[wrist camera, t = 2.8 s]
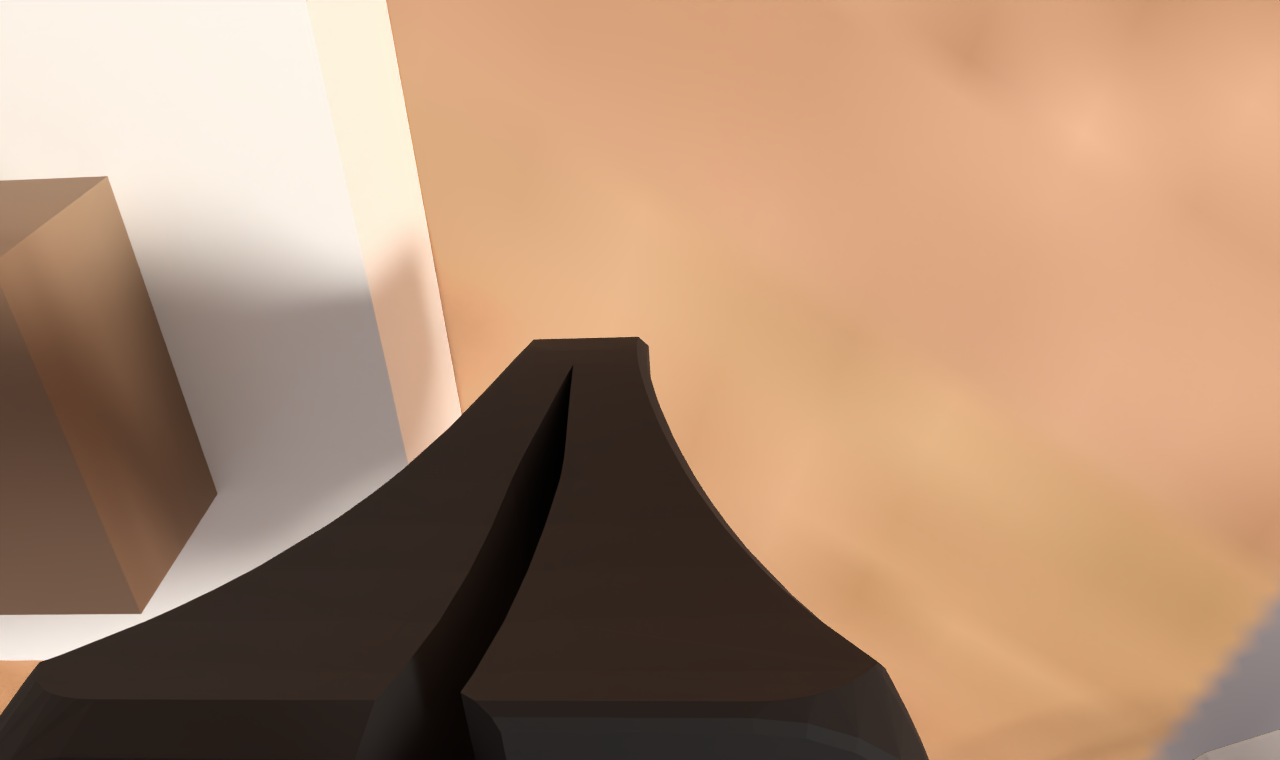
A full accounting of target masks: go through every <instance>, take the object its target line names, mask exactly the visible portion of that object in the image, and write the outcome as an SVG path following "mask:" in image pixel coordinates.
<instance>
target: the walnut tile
mask: <svg viewBox="0 0 1280 760" xmlns="http://www.w3.org/2000/svg"><path fill="white" fill-rule="evenodd" d="M216 496H217V491H216V488H215V485H214V482H213V479H212V476H211V473H210V470H209V468H208V465H207V462H206V459H205V456H204V453H203V450H202V447H201V444H200V442H199V439H198V436H197V433H196V430H195V427H194V424H193V421H192V418H191V416H190V413H189V410H188V407H187V404H186V401H185V398H184V395H183V393H182V390H181V387H180V384H179V381H178V378H177V375H176V372H175V369H174V367H173V364H172V361H171V358H170V355H169V352H168V349H167V346H166V343H165V341H164V338H163V335H162V332H161V329H160V326H159V323H158V320H157V317H156V315H155V312H154V309H153V306H152V303H151V300H150V297H149V294H148V291H147V289H146V286H145V283H144V280H143V277H142V274H141V271H140V268H139V265H138V263H137V260H136V257H135V254H134V251H133V248H132V245H131V242H130V240H129V237H128V234H127V231H126V228H125V225H124V222H123V219H122V216H121V214H120V211H119V208H118V205H117V202H116V199H115V196H114V193H113V190H112V188H111V185H110V182H109V179H108V176H100V177H75V178H51V179H26V180H2V181H0V615H73V614H142V612H143V610H144V609H145V607H146V606H147V604H148V603H149V601H150V599H151V598H152V596H153V595H154V593H155V592H156V590H157V588H158V587H159V585H160V584H161V582H162V581H163V579H164V577H165V576H166V574H167V573H168V571H169V570H170V568H171V566H172V565H173V563H174V562H175V560H176V559H177V557H178V555H179V554H180V552H181V551H182V549H183V548H184V546H185V544H186V543H187V541H188V540H189V538H190V537H191V535H192V533H193V532H194V530H195V529H196V527H197V526H198V524H199V522H200V521H201V519H202V518H203V516H204V515H205V513H206V511H207V510H208V508H209V507H210V505H211V504H212V502H213V500H214V499H215V497H216Z"/></svg>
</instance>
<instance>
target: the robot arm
mask: <svg viewBox="0 0 1280 760" xmlns="http://www.w3.org/2000/svg"><path fill="white" fill-rule="evenodd" d="M0 760H929V759H928V756H927V754H926V751H925V749H924V746H923V744H922V741H921V739H920V737H919V735H918V733H917V730H916V728H915V726H914V724H913V722H912V720H911V718H910V715H909V713H908V711H907V709H906V707H905V705H904V703H903V701H902V699H901V697H900V696H899V694H898V692H897V690H896V688H895V686H894V684H893V682H892V680H891V678H890V676H889V675H888V673H887V671H886V669H885V668H884V667H883V666H882V665H881V664H880V663H878V662H877V661H876V660H874V659H873V658H872V657H870V656H869V655H867V654H866V653H865V652H863V651H862V650H860V649H859V648H858V647H856V646H855V645H853V644H852V643H851V642H849V641H848V640H846V639H845V638H844V637H842V636H841V635H840V634H838V633H837V632H835V631H834V630H833V629H831V628H830V627H828V626H827V625H826V624H824V623H823V622H822V621H821V620H820V619H818V618H817V617H816V616H815V615H814V614H813V613H812V612H810V611H809V610H808V609H807V608H806V607H805V606H804V605H803V604H801V603H800V602H799V601H798V600H797V599H796V598H795V597H793V596H792V595H791V594H790V593H789V592H788V590H787V589H786V588H785V587H784V586H783V585H782V584H781V583H780V582H779V581H778V580H777V579H776V578H775V577H774V576H773V575H772V574H771V573H770V572H769V571H768V570H767V569H766V568H765V567H764V566H763V565H762V564H761V562H760V561H759V560H758V559H757V558H756V557H755V556H754V555H753V554H752V553H751V552H750V551H749V550H748V549H747V548H746V546H745V545H744V544H743V543H742V541H741V540H740V539H739V538H738V536H737V535H736V534H735V533H734V532H733V530H732V529H731V528H730V527H729V525H728V524H727V523H726V522H725V520H724V519H723V517H722V516H721V515H720V513H719V512H718V510H717V509H716V508H715V506H714V505H713V504H712V502H711V501H710V499H709V498H708V496H707V495H706V493H705V492H704V490H703V489H702V487H701V486H700V484H699V482H698V481H697V479H696V477H695V476H694V474H693V472H692V471H691V469H690V467H689V465H688V464H687V462H686V460H685V458H684V456H683V455H682V453H681V451H680V449H679V447H678V445H677V443H676V441H675V439H674V437H673V435H672V433H671V431H670V428H669V426H668V424H667V422H666V419H665V417H664V415H663V412H662V410H661V408H660V405H659V403H658V400H657V397H656V394H655V391H654V388H653V384H652V381H651V377H650V362H649V347H648V345H647V344H646V343H645V342H643V341H642V340H641V339H640V338H639V337H618V338H578V339H539V340H533V341H532V342H531V343H530V344H529V345H528V346H527V347H526V348H525V349H524V350H523V351H522V352H521V353H520V354H519V355H518V356H517V357H516V358H515V359H514V360H513V362H512V363H511V364H510V365H509V366H508V367H507V368H506V369H505V370H504V371H503V372H502V373H501V374H500V376H499V377H498V378H497V379H496V380H495V381H494V382H493V383H492V384H491V385H490V386H489V387H488V388H487V389H486V390H485V392H484V393H483V394H482V395H481V396H480V397H479V398H478V399H477V400H476V401H475V402H474V403H473V404H472V405H471V406H470V407H469V408H468V409H467V410H466V411H465V412H464V413H463V414H462V415H461V416H460V417H459V418H458V419H457V420H456V421H455V422H454V423H453V424H452V425H451V426H450V427H449V428H448V429H447V430H446V431H445V432H444V433H443V434H442V435H440V436H439V437H438V438H437V439H436V440H435V441H434V442H433V443H431V444H430V445H429V446H428V447H427V448H426V449H425V450H424V451H423V452H421V453H420V454H419V455H418V456H417V457H416V458H415V459H414V460H413V461H411V462H410V463H409V464H408V465H407V466H406V467H405V468H404V469H402V470H401V471H400V472H399V473H397V474H396V475H395V476H394V477H393V478H391V479H390V480H389V481H388V482H386V483H385V484H384V485H382V486H381V487H380V488H378V489H377V490H376V491H375V492H373V493H372V494H371V495H369V496H368V497H366V498H365V499H364V500H362V501H361V502H359V503H358V504H357V505H355V506H354V507H352V508H351V509H350V510H348V511H347V512H345V513H344V514H343V515H341V516H340V517H338V518H337V519H335V520H334V521H332V522H331V523H329V524H328V525H326V526H325V527H323V528H321V529H320V530H318V531H316V532H315V533H313V534H311V535H310V536H308V537H306V538H305V539H303V540H301V541H300V542H298V543H296V544H295V545H293V546H291V547H290V548H288V549H287V550H285V551H283V552H282V553H280V554H278V555H277V556H275V557H273V558H272V559H270V560H268V561H267V562H265V563H263V564H262V565H260V566H258V567H256V568H254V569H253V570H251V571H249V572H247V573H245V574H243V575H241V576H239V577H237V578H235V579H233V580H231V581H230V582H228V583H226V584H224V585H222V586H220V587H218V588H216V589H214V590H212V591H210V592H208V593H206V594H204V595H201V596H199V597H197V598H195V599H193V600H191V601H189V602H187V603H185V604H183V605H180V606H178V607H176V608H174V609H172V610H170V611H167V612H165V613H163V614H161V615H158V616H156V617H154V618H152V619H149V620H147V621H145V622H142V623H140V624H137V625H135V626H132V627H130V628H127V629H125V630H122V631H120V632H117V633H115V634H112V635H109V636H107V637H104V638H102V639H99V640H97V641H94V642H92V643H89V644H87V645H84V646H82V647H79V648H77V649H74V650H72V651H69V652H67V653H64V654H62V655H59V656H56V657H53V658H50V659H48V660H45V661H42V662H39V664H38V665H37V666H36V667H35V669H34V670H33V671H32V673H31V674H30V675H29V676H28V678H27V679H26V680H25V682H24V683H23V685H22V686H21V687H20V689H19V690H18V692H17V693H16V694H15V696H14V697H13V699H12V700H11V701H10V703H9V704H8V706H7V707H6V708H5V710H4V711H3V713H2V714H1V715H0Z"/></svg>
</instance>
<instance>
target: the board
mask: <svg viewBox="0 0 1280 760" xmlns="http://www.w3.org/2000/svg"><path fill="white" fill-rule="evenodd" d="M100 176H108V179H109V182H110V185H111V188H112V190H113V193H114V196H115V199H116V202H117V205H118V208H119V211H120V214H121V216H122V219H123V222H124V225H125V228H126V231H127V234H128V237H129V240H130V242H131V245H132V248H133V251H134V254H135V257H136V260H137V263H138V265H139V268H140V271H141V274H142V277H143V280H144V283H145V286H146V289H147V291H148V294H149V297H150V300H151V303H152V306H153V309H154V312H155V315H156V317H157V320H158V323H159V326H160V329H161V332H162V335H163V338H164V341H165V343H166V346H167V349H168V352H169V355H170V358H171V361H172V364H173V367H174V369H175V372H176V375H177V378H178V381H179V384H180V387H181V390H182V393H183V395H184V398H185V401H186V404H187V407H188V410H189V413H190V416H191V418H192V421H193V424H194V427H195V430H196V433H197V436H198V439H199V442H200V444H201V447H202V450H203V453H204V456H205V459H206V462H207V465H208V468H209V470H210V473H211V476H212V479H213V482H214V485H215V488H216V491H217V496H216V497H215V499H214V500H213V502H212V504H211V505H210V507H209V508H208V510H207V511H206V513H205V515H204V516H203V518H202V519H201V521H200V522H199V524H198V526H197V527H196V529H195V530H194V532H193V533H192V535H191V537H190V538H189V540H188V541H187V543H186V544H185V546H184V548H183V549H182V551H181V552H180V554H179V555H178V557H177V559H176V560H175V562H174V563H173V565H172V566H171V568H170V570H169V571H168V573H167V574H166V576H165V577H164V579H163V581H162V582H161V584H160V585H159V587H158V588H157V590H156V592H155V593H154V595H153V596H152V598H151V599H150V601H149V603H148V604H147V606H146V607H145V609H144V610H143V612H142V614H73V615H0V660H48V659H50V658H53V657H56V656H59V655H62V654H64V653H67V652H69V651H72V650H74V649H77V648H79V647H82V646H84V645H87V644H89V643H92V642H94V641H97V640H99V639H102V638H104V637H107V636H109V635H112V634H115V633H117V632H120V631H122V630H125V629H127V628H130V627H132V626H135V625H137V624H140V623H142V622H145V621H147V620H149V619H152V618H154V617H156V616H158V615H161V614H163V613H165V612H167V611H170V610H172V609H174V608H176V607H178V606H180V605H183V604H185V603H187V602H189V601H191V600H193V599H195V598H197V597H199V596H201V595H204V594H206V593H208V592H210V591H212V590H214V589H216V588H218V587H220V586H222V585H224V584H226V583H228V582H230V581H231V580H233V579H235V578H237V577H239V576H241V575H243V574H245V573H247V572H249V571H251V570H253V569H254V568H256V567H258V566H260V565H262V564H263V563H265V562H267V561H268V560H270V559H272V558H273V557H275V556H277V555H278V554H280V553H282V552H283V551H285V550H287V549H288V548H290V547H291V546H293V545H295V544H296V543H298V542H300V541H301V540H303V539H305V538H306V537H308V536H310V535H311V534H313V533H315V532H316V531H318V530H320V529H321V528H323V527H325V526H326V525H328V524H329V523H331V522H332V521H334V520H335V519H337V518H338V517H340V516H341V515H343V514H344V513H345V512H347V511H348V510H350V509H351V508H352V507H354V506H355V505H357V504H358V503H359V502H361V501H362V500H364V499H365V498H366V497H368V496H369V495H371V494H372V493H373V492H375V491H376V490H377V489H378V488H380V487H381V486H382V485H384V484H385V483H386V482H388V481H389V480H390V479H391V478H393V477H394V476H395V475H396V474H397V473H399V472H400V471H401V470H402V469H404V468H405V467H406V466H407V465H408V464H409V463H410V462H411V461H413V460H414V459H415V458H416V457H417V456H418V455H419V454H420V453H421V452H423V451H424V450H425V449H426V448H427V447H428V446H429V445H430V444H431V443H433V442H434V441H435V440H436V439H437V438H438V437H439V436H440V435H442V434H443V433H444V432H445V431H446V430H447V429H448V428H449V427H450V426H451V425H452V424H453V423H454V422H455V421H456V420H457V419H458V418H459V417H460V416H461V409H460V404H459V398H458V393H457V387H456V382H455V376H454V371H453V365H452V360H451V354H450V349H449V343H448V338H447V333H446V327H445V322H444V316H443V311H442V305H441V300H440V294H439V289H438V283H437V278H436V272H435V267H434V261H433V256H432V250H431V245H430V239H429V234H428V228H427V223H426V217H425V212H424V206H423V201H422V195H421V190H420V184H419V179H418V174H417V168H416V163H415V157H414V152H413V146H412V141H411V135H410V130H409V124H408V119H407V113H406V108H405V102H404V97H403V91H402V86H401V80H400V75H399V69H398V64H397V58H396V53H395V47H394V42H393V36H392V31H391V25H390V20H389V14H388V9H387V4H386V0H0V181H2V180H26V179H51V178H75V177H100Z"/></svg>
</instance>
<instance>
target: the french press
mask: <svg viewBox="0 0 1280 760" xmlns="http://www.w3.org/2000/svg"><path fill="white" fill-rule="evenodd" d="M1194 760H1280V729H1279V730H1276V731H1273V732H1269V733H1266V734H1263V735H1260V736H1257V737H1253V738H1250V739H1247V740H1244V741H1240V742H1237V743H1234V744H1231V745H1227V746H1224V747H1221V748H1218V749H1215V750H1211V751H1208V752H1205V753H1203V754H1202V755H1200V756H1199V757H1197V758H1195V759H1194Z"/></svg>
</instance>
